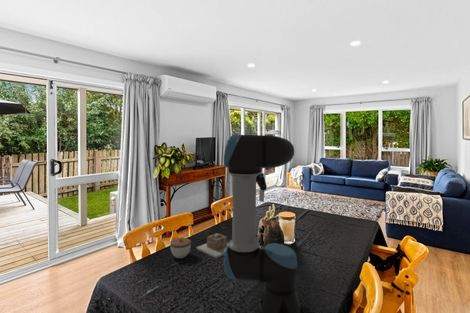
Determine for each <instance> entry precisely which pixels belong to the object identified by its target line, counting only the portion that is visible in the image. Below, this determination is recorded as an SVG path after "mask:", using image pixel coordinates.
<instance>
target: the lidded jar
mask: <svg viewBox="0 0 470 313" xmlns="http://www.w3.org/2000/svg"><path fill="white" fill-rule="evenodd" d="M169 245H170V252H171V254H172V255H173V256H174V258H176V259H184V258H186V257H187V256H188V255H189V253H190V251H191V247H192V246H191V245H192V241H191V239H189V238H188V237H178V238H174V239H172V240H171V241H170V244H169Z"/></svg>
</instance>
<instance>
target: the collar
mask: <svg viewBox="0 0 470 313" xmlns="http://www.w3.org/2000/svg"><path fill="white" fill-rule="evenodd" d="M215 234H219V238H218V239H216V238H215ZM206 243H207V247H208V248H210V249H213V250H215V251H219V250H221V249H223V248H225V247H226V246H227V243H228V236H227V235H224V234H222V233H218V232H216V233H213V234H211V235H207V236H206Z"/></svg>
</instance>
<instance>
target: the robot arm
mask: <svg viewBox="0 0 470 313" xmlns="http://www.w3.org/2000/svg"><path fill="white" fill-rule="evenodd" d="M294 156H295V147H294V145H293V143H292V142H291V141H290V140H288V139H286V138H284V137H280V136H276V135H269V134H268V135H266V134H265V135H263V134H261V135H259V134H253V135H252V134H237V135H236V134H235V135H229V137H228V138H227V141H226V143H225V147H224V154H223V166H224V167H225V168H228V174H229V175H230V176H231V177H232V228H231V229H232V234H231V235H232V236H231V237H232V239H230V240H229V242H227V243H228V246H226V247H225V250H224V255H223V268H224V274H225V275H226V277H227V278H228V279H229V280H236V281H237V282H238V281H243V282H244V281H246V282H258V283H263V284H264V286H263V288H262V292H261V295H260V297H259V302H258V303H259V310H260V312H261V313H301V303H300V300H299V296H298V293H297V268H298V261H297V254H296V251H295V250H293V248H290V247H289V246H287V245H285V244H281V243H275V242H274V243H273V242H272V243H268V244H266V245H265V247H264V248H261V247H260V242H258V240H257V239H256V227H257V226H256V222H257V221H256V218H257V217H256V216H257V212H256V211H257V209H256V208H257V187H259V190H258V191H259V196H258V201H259V202H262V203H264V202H265V191H267V188H268V186H267V183H266V179H265V174H264V173H263V172H262V171H263V170H262V169H273V168H278V167H282V166H284V165H286V164H288V163H290V162H291V161H292V160H293V158H294Z"/></svg>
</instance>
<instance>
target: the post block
mask: <svg viewBox="0 0 470 313" xmlns="http://www.w3.org/2000/svg"><path fill="white" fill-rule="evenodd" d="M214 234H215V233H214ZM219 234H220V233H219ZM219 234H215V238H216V239H218V238H219ZM228 243H229V242H227V246H228ZM196 250H198V251H200V252H202V253H204V254H207V255H209V256H210V257H213V258H215V259H219V258H220V257H222V256H224V250H225V248H223V249H221V250H219V251H215V250H213V249H210V248H208V247H207V242H206V243H203V244H202V245H199V246H196Z"/></svg>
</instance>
